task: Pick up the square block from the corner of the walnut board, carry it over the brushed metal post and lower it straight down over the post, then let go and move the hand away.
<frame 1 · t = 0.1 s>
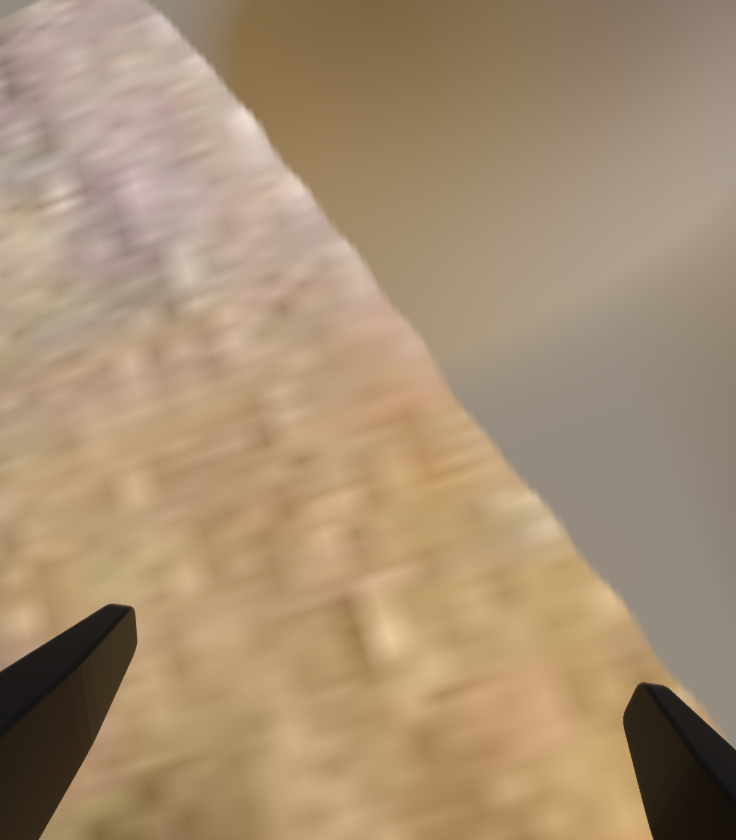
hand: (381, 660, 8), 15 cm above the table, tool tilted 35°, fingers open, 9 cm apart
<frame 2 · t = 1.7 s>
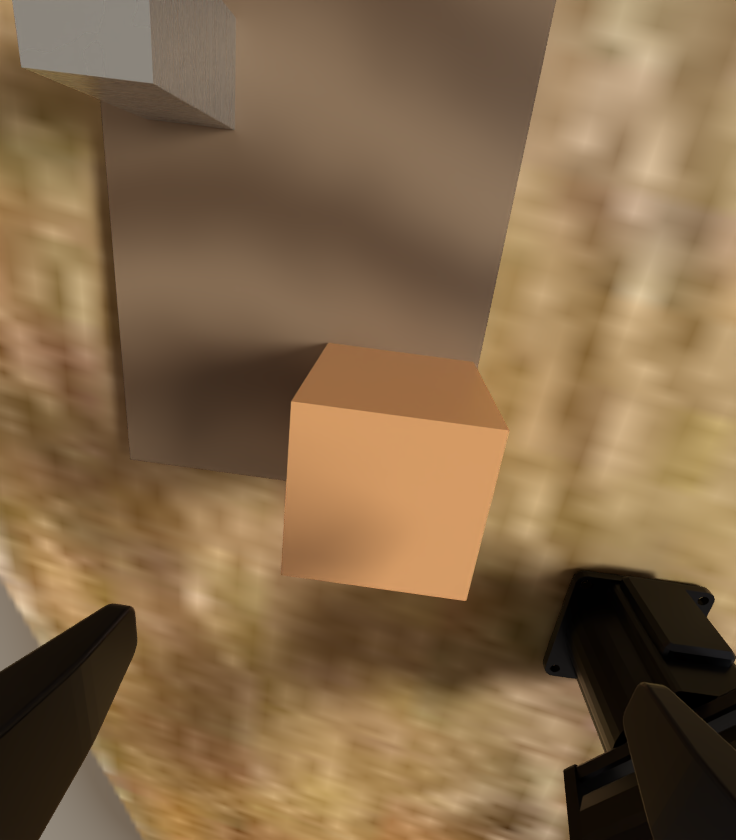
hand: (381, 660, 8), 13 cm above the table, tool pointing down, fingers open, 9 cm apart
metal post: (203, 80, 16), resting on walnut board
walnut board: (309, 235, 18), on the table
square block: (390, 419, 19), point 1 cm above the table, touching walnut board
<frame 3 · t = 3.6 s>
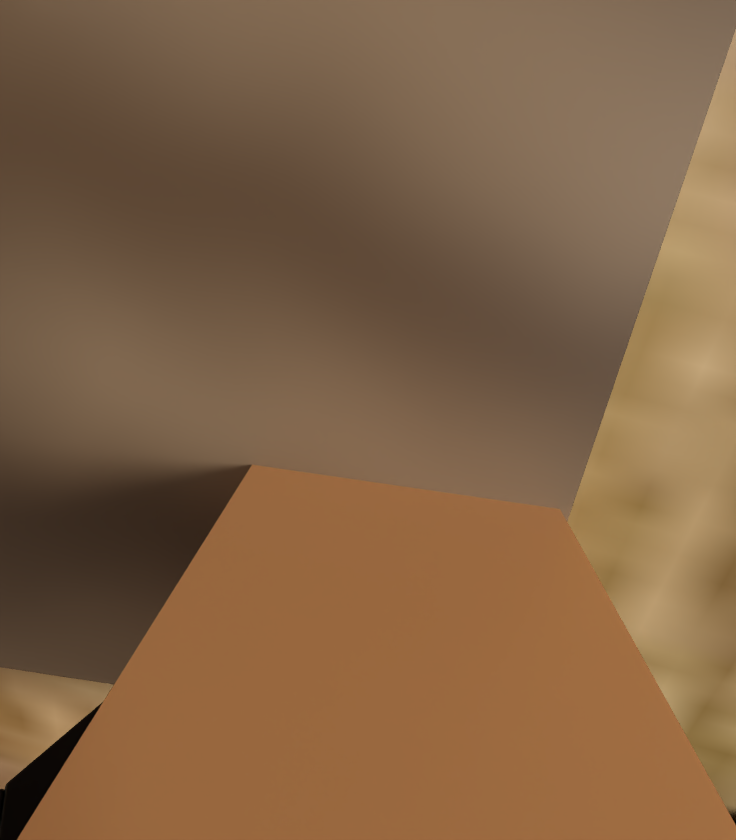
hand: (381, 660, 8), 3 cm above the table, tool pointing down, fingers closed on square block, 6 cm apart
walnut board: (211, 237, 8), on the table
square block: (383, 605, 10), point 1 cm above the table, touching gripper, walnut board
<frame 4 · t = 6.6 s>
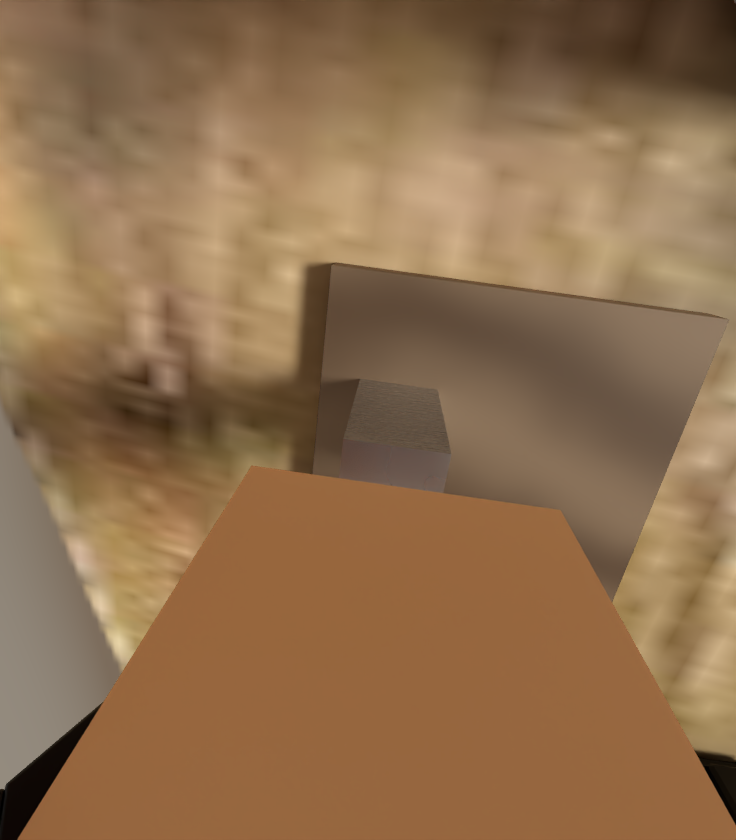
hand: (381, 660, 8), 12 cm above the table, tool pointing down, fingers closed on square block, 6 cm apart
metal post: (393, 409, 20), resting on walnut board
walnut board: (466, 513, 22), on the table
square block: (383, 606, 10), point 11 cm above the table, touching gripper
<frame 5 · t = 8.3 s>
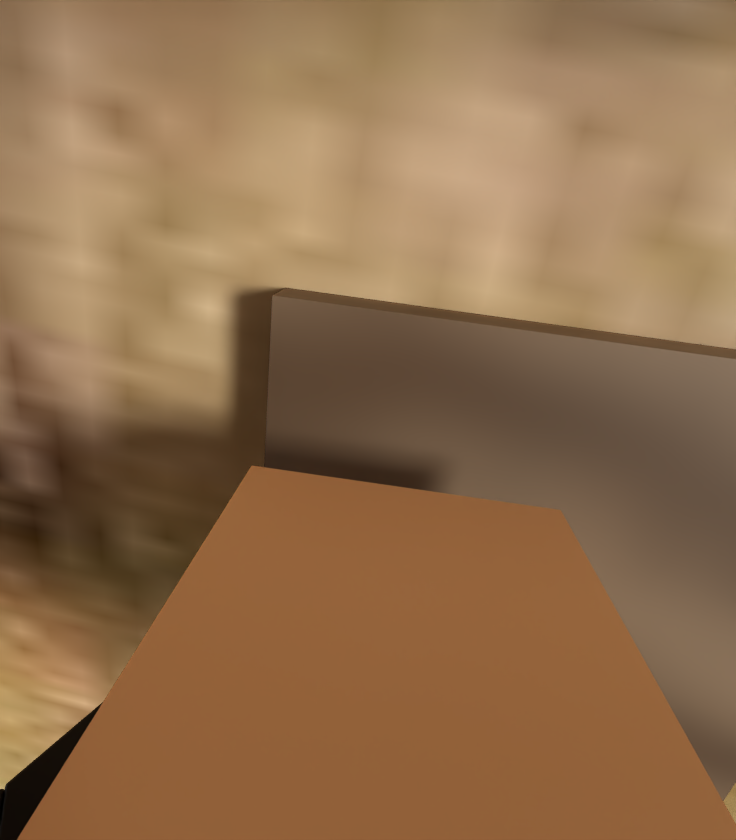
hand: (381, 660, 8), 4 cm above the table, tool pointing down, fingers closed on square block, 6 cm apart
walnut board: (499, 664, 14), on the table
square block: (383, 606, 10), point 3 cm above the table, touching gripper
when the fingers open (3 cm above the table, at t = 9.6 s): square block stays where it is, resting on walnut board.
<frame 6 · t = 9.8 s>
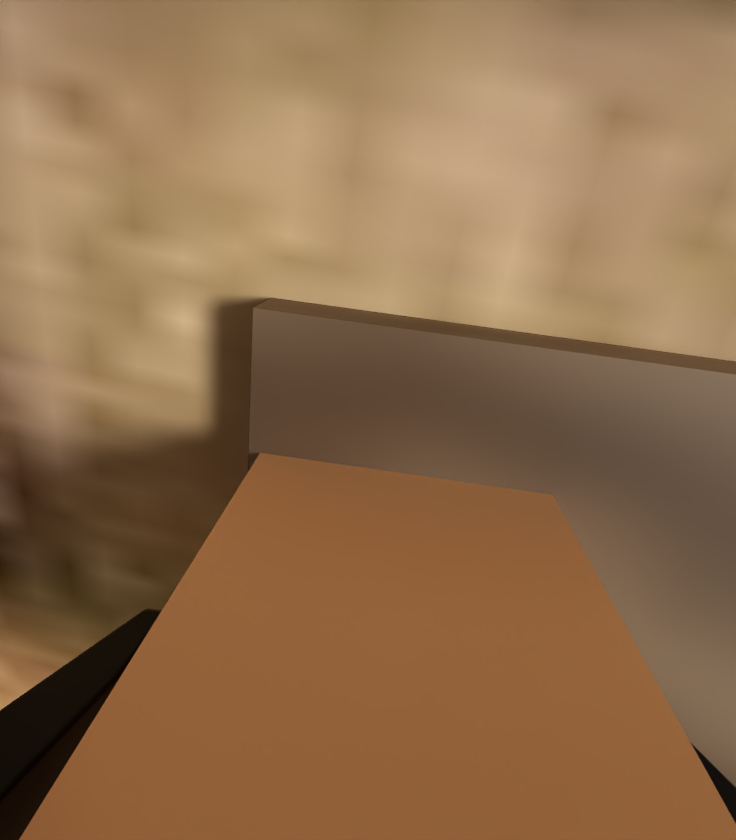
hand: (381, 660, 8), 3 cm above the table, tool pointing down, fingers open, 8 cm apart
walnut board: (509, 707, 13), on the table
square block: (385, 588, 10), point 1 cm above the table, touching walnut board
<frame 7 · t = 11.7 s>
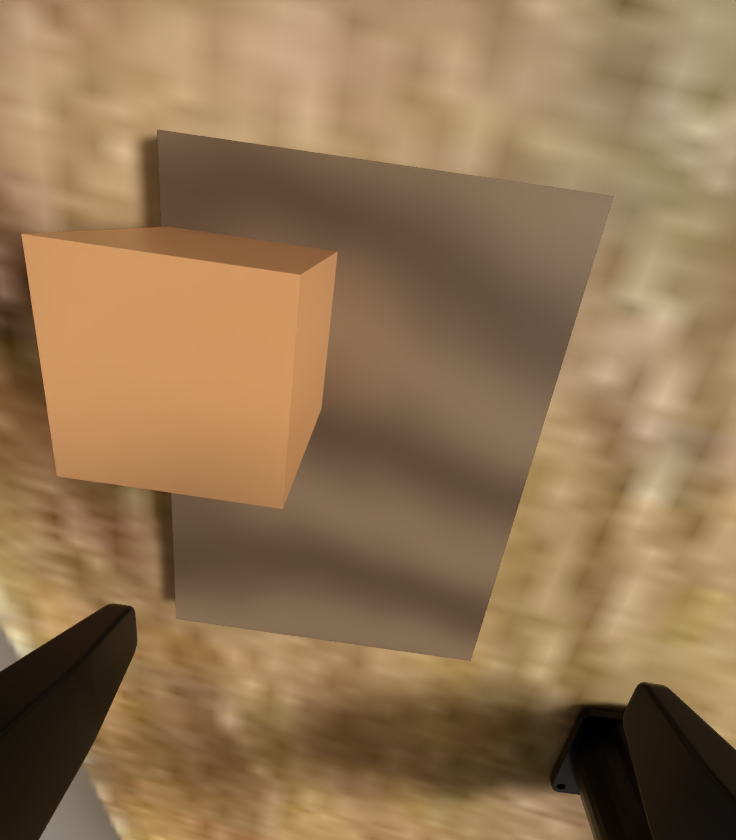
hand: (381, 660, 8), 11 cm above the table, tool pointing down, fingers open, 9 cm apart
walnut board: (350, 439, 20), on the table
square block: (249, 323, 17), point 1 cm above the table, touching walnut board
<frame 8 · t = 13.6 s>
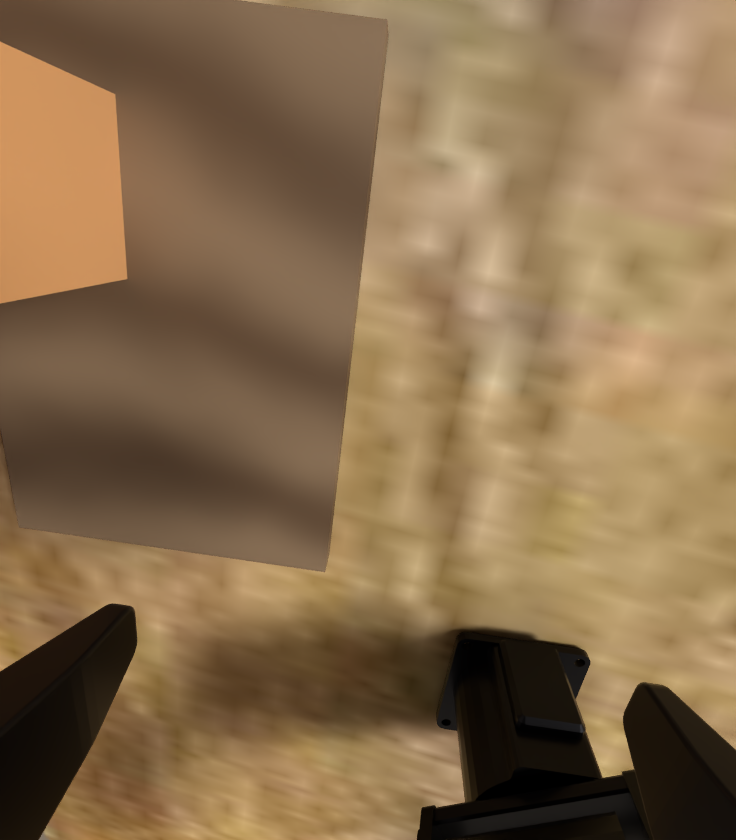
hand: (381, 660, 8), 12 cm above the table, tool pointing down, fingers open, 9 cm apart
walnut board: (176, 323, 19), on the table
square block: (39, 181, 16), point 1 cm above the table, touching walnut board
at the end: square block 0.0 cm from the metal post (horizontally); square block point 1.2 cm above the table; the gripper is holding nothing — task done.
